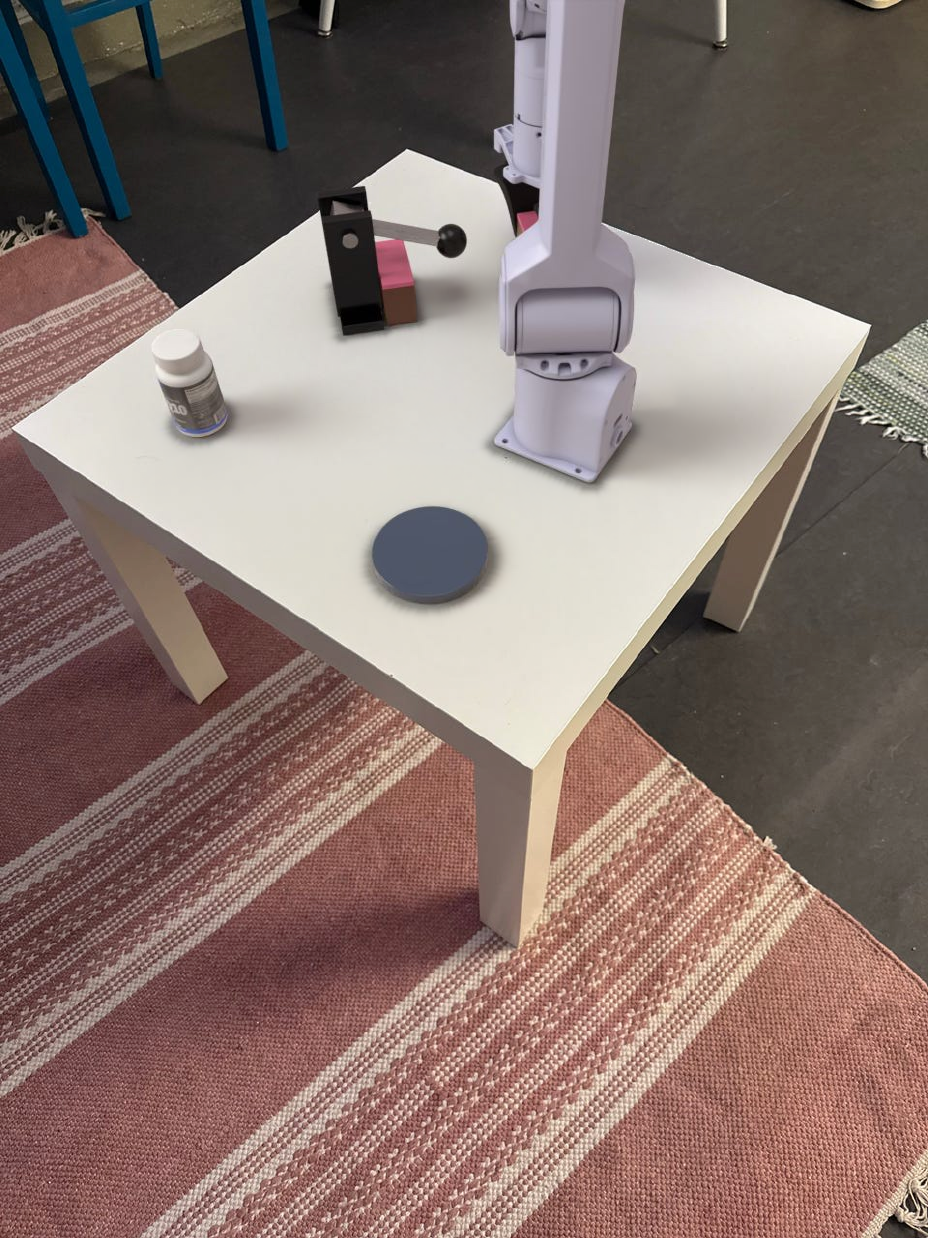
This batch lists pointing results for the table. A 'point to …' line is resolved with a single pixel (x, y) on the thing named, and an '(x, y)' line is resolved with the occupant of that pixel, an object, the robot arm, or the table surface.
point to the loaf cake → (396, 282)
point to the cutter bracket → (352, 261)
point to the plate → (430, 554)
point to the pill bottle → (189, 383)
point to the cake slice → (525, 221)
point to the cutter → (414, 232)
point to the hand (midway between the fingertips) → (540, 249)
